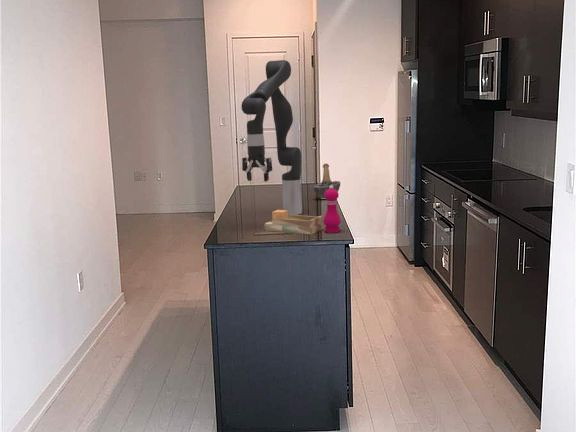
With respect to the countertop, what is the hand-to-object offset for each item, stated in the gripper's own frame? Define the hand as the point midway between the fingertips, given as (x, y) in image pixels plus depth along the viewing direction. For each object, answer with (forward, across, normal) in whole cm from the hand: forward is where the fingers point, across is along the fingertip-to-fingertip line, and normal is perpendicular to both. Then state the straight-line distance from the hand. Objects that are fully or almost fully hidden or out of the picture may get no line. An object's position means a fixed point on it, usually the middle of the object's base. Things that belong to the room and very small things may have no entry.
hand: (257, 180), depth 272 cm
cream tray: (+21, -16, -2) cm, 27 cm away
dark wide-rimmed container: (+24, +6, -81) cm, 85 cm away
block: (+18, -10, -2) cm, 21 cm away
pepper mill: (+22, -33, -5) cm, 40 cm away
